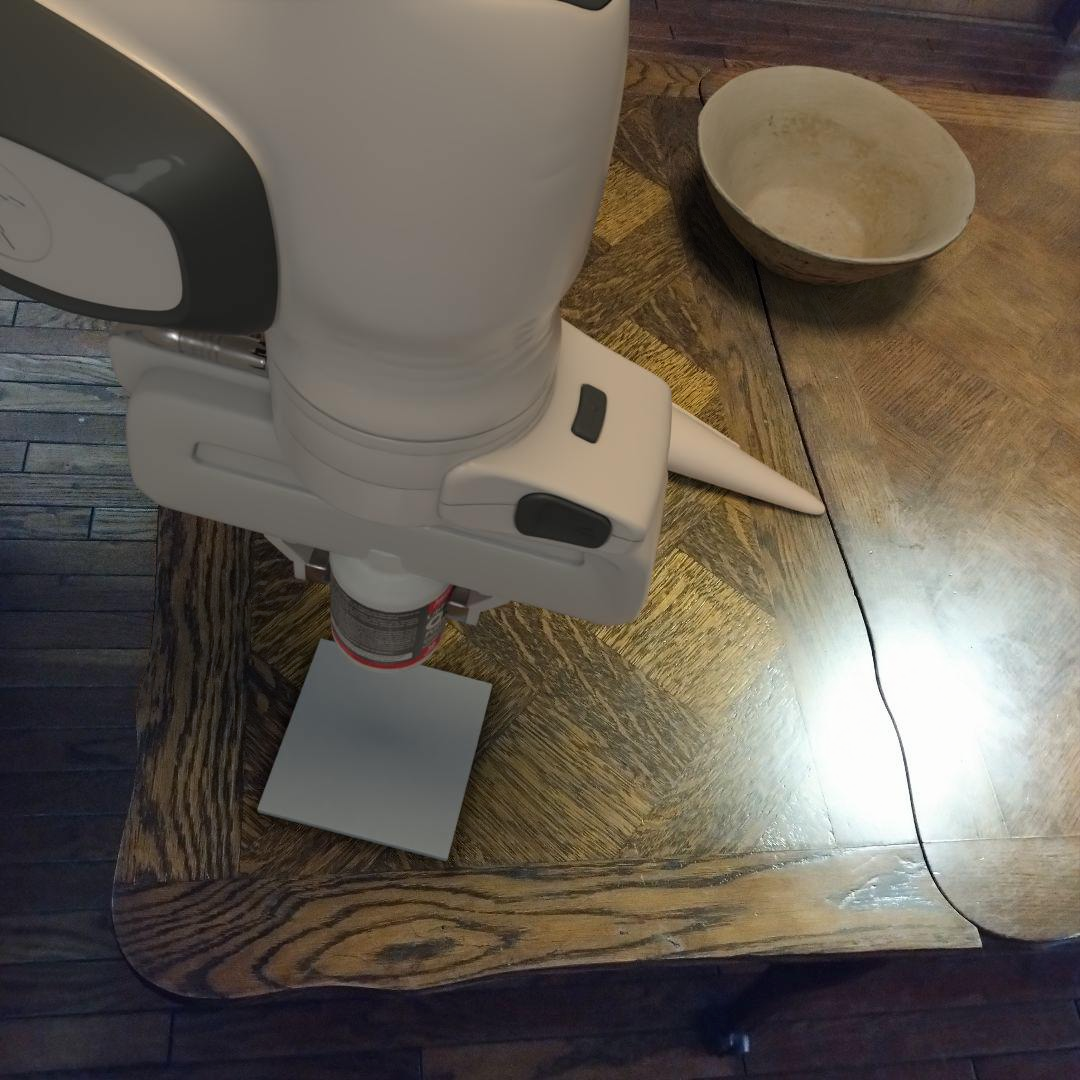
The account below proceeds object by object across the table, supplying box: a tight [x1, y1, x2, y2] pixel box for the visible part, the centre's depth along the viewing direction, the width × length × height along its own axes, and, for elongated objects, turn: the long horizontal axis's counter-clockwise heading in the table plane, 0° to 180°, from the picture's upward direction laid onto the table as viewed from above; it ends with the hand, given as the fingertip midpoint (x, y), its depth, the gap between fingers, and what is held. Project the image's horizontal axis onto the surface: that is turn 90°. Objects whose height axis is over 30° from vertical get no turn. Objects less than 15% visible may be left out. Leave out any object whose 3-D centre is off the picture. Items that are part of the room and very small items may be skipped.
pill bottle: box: [329, 549, 454, 674], centre depth 43 cm, size 5×5×10 cm
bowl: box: [695, 64, 977, 286], centre depth 85 cm, size 24×24×10 cm
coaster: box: [256, 638, 493, 862], centre depth 58 cm, size 11×11×1 cm
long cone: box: [667, 401, 826, 516], centre depth 71 cm, size 6×6×19 cm
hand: (392, 588), depth 44 cm, fingers closed on pill bottle, 5 cm apart
